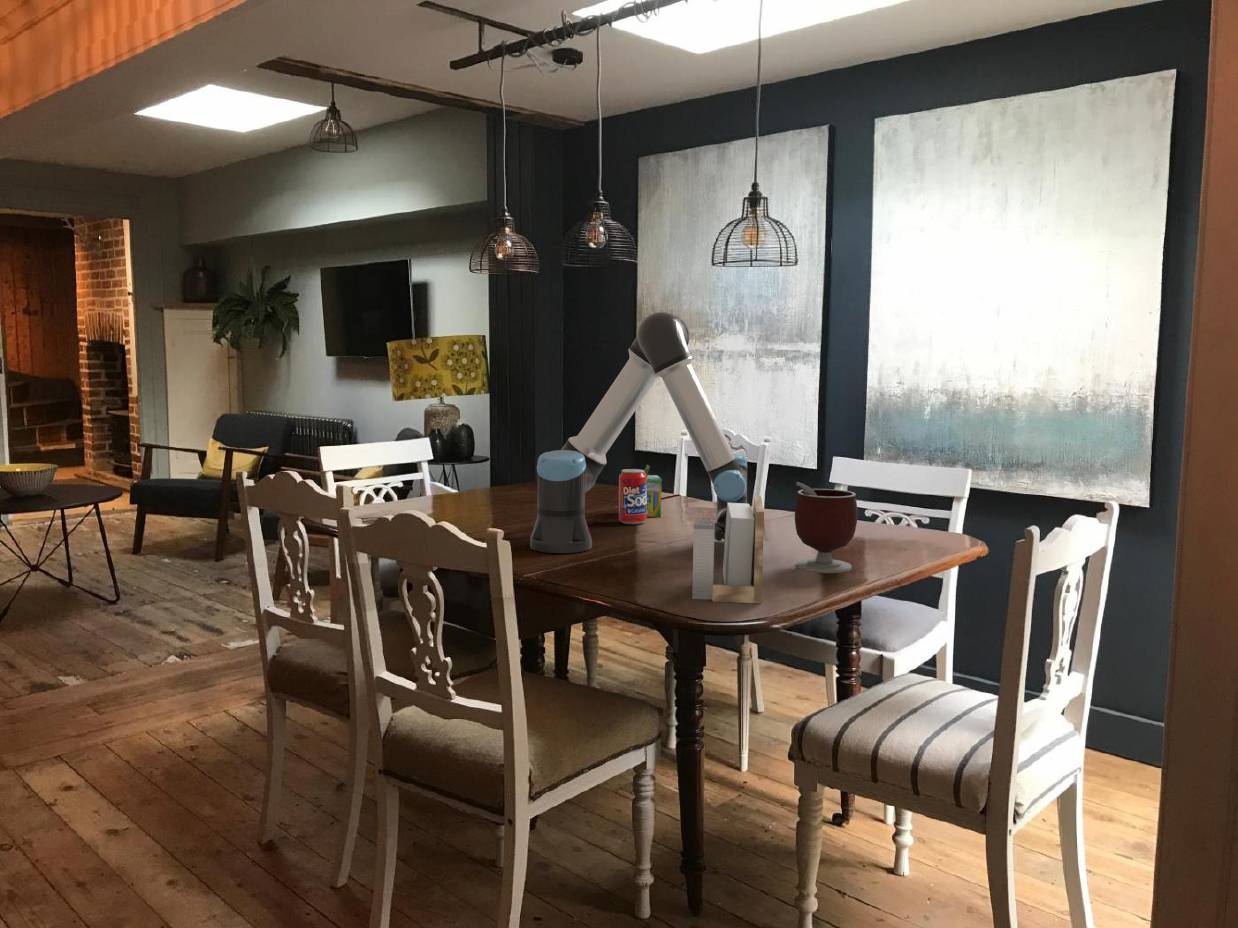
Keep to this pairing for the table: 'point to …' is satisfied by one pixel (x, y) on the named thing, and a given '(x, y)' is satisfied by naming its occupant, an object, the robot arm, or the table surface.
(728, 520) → the skincare box
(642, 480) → the soda can
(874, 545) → the table surface
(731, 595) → the oak shelf corner
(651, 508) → the juice box
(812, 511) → the mate gourd
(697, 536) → the grey carton
